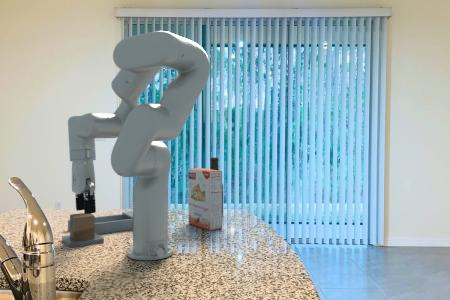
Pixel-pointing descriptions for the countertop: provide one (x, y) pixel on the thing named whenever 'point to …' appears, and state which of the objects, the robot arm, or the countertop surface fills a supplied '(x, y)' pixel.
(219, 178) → the cracker box
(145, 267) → the countertop surface
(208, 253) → the countertop surface
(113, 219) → the channel
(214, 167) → the beer bottle
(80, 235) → the block
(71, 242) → the coaster
